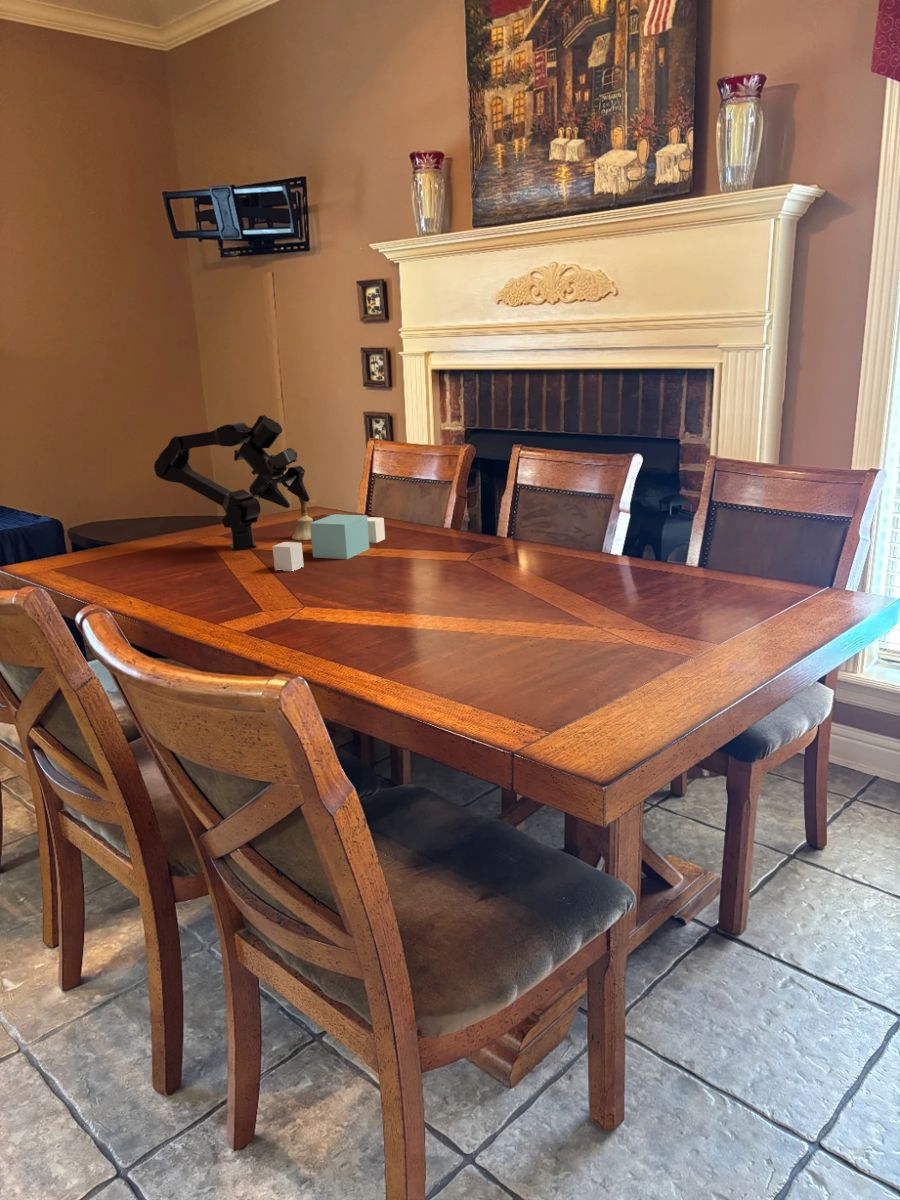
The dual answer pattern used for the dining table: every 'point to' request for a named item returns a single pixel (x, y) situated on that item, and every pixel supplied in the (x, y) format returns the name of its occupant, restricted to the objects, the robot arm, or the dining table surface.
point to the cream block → (375, 529)
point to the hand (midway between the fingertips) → (299, 503)
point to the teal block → (339, 536)
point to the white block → (288, 556)
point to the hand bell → (303, 523)
